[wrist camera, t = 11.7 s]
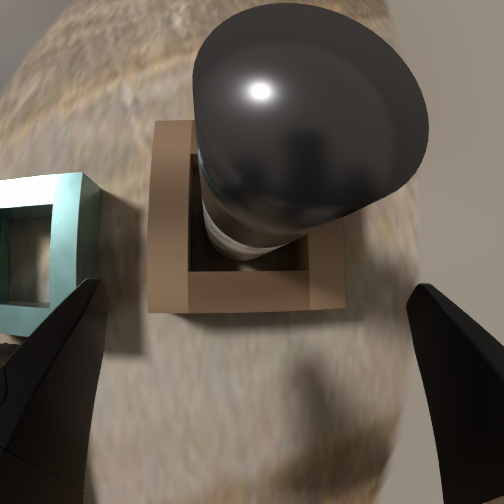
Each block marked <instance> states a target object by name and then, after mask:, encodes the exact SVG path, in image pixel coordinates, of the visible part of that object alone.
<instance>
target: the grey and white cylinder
mask: <svg viewBox="0 0 504 504" xmlns="http://www.w3.org/2000/svg"><path fill="white" fill-rule="evenodd" d="M193 100H194V114H195V127H196V139H197V151H198V162H199V173H200V183H201V193H202V203H203V212H204V221H205V229H206V234H207V237H208V239H209V241H210V243H211V244H212V246H213V247H214V248H215V249H216V250H217V251H218V252H219V253H220V254H222V255H223V256H225V257H227V258H229V259H233V260H237V261H248V260H253V259H256V258H258V257H260V256H262V255H264V254H267V253H269V252H271V251H273V250H275V249H277V248H279V247H281V246H283V245H286V244H288V243H290V242H292V241H294V240H296V239H298V238H300V237H302V236H305V235H307V234H309V233H311V232H313V231H315V230H317V229H319V228H321V227H323V226H325V225H328V224H330V223H332V222H334V221H336V220H338V219H340V218H342V217H344V216H346V215H348V214H351V213H353V212H355V211H357V210H359V209H361V208H363V207H365V206H367V205H369V204H371V203H373V202H376V201H378V200H380V199H382V198H384V197H386V196H388V195H389V194H391V193H393V192H395V191H397V190H398V189H399V188H401V187H402V186H403V185H404V184H406V183H407V182H408V181H409V179H410V178H411V177H412V176H413V175H414V174H415V172H416V171H417V169H418V167H419V166H420V164H421V162H422V159H423V157H424V155H425V152H426V148H427V143H428V134H429V123H428V114H427V109H426V104H425V101H424V98H423V95H422V92H421V90H420V88H419V85H418V83H417V81H416V79H415V77H414V76H413V74H412V72H411V71H410V69H409V68H408V66H407V65H406V64H405V62H404V61H403V60H402V58H401V57H400V56H399V55H398V54H397V53H396V52H395V50H394V49H393V48H392V47H391V46H390V45H388V44H387V43H386V42H385V41H384V40H383V39H382V38H381V37H379V36H378V35H377V34H375V33H374V32H373V31H371V30H370V29H368V28H367V27H365V26H364V25H362V24H360V23H359V22H357V21H355V20H353V19H351V18H349V17H347V16H344V15H342V14H339V13H337V12H334V11H331V10H328V9H325V8H321V7H317V6H312V5H306V4H297V3H277V4H267V5H262V6H257V7H254V8H251V9H247V10H244V11H242V12H240V13H238V14H236V15H233V16H232V17H230V18H229V19H227V20H225V21H224V22H222V23H221V24H220V25H219V26H218V27H217V28H215V29H214V30H213V31H212V32H211V34H210V35H209V36H208V37H207V38H206V40H205V41H204V43H203V45H202V46H201V48H200V50H199V52H198V55H197V57H196V60H195V64H194V69H193Z"/></svg>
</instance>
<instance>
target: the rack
mask: <svg viewBox="0 0 504 504" xmlns="http://www.w3.org/2000/svg"><path fill="white" fill-rule="evenodd" d="M193 174H200V173H199V162H198V151H197V139H196V127H195V120H173V121H155V131H154V140H153V151H152V163H151V176H150V191H149V211H148V242H147V298H148V313H247V312H279V311H302V310H321V309H337V308H346V271H345V242H344V222H343V217H342V218H340V219H338V220H336V221H334V222H332V223H330V224H328V225H325V226H323V227H321V228H319V229H317V230H315V231H313V232H311V233H309V234H307V235H305V236H302V237H300V238H298V239H296V240H294V241H292V259H293V271H223V272H192V197H193Z"/></svg>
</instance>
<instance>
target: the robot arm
mask: <svg viewBox="0 0 504 504" xmlns="http://www.w3.org/2000/svg"><path fill="white" fill-rule="evenodd" d="M108 308H109V302H108V297H107V294H106V291H105V287H104V284H103V281H102V280H101V279H99V278H87V279H85V280H84V281H83V282H82V283H81V284H80V285H79V286H78V287H77V288H76V289H75V290H74V291H73V292H72V293H71V294H70V295H68V296H67V297H66V298H65V299H64V300H63V301H62V302H61V303H60V304H59V305H58V306H57V307H56V308H55V309H54V310H53V311H52V312H51V313H50V314H49V316H48V317H47V318H46V319H45V320H44V321H43V322H42V323H41V324H40V325H39V326H38V327H37V328H36V329H35V330H34V331H33V332H32V333H31V334H30V335H29V336H28V338H27V339H26V340H25V341H24V342H23V343H22V344H21V345H20V346H19V347H18V348H17V350H16V351H15V352H14V353H13V354H12V355H11V356H10V357H9V358H8V360H7V361H6V362H5V365H2V366H1V367H0V504H83V497H84V491H83V490H84V480H85V469H86V459H87V450H88V442H89V434H90V427H91V420H92V414H93V407H94V401H95V396H96V390H97V385H98V379H99V374H100V369H101V364H102V358H103V351H104V341H105V332H106V324H107V316H108ZM406 309H407V314H408V319H409V324H410V329H411V334H412V340H413V345H414V350H415V354H416V358H417V362H418V366H419V369H420V373H421V377H422V381H423V385H424V389H425V394H426V397H427V402H428V407H429V412H430V416H431V421H432V426H433V431H434V437H435V442H436V448H437V454H438V460H439V468H440V475H441V483H442V492H443V501H444V504H483V503H486V504H504V346H503V345H502V344H500V343H499V342H498V341H497V340H496V339H495V338H494V337H493V336H492V335H491V334H490V333H488V332H487V331H486V330H485V329H484V328H483V327H482V326H480V325H479V324H478V323H477V322H476V321H475V320H473V319H472V318H471V317H470V316H469V315H468V314H466V313H465V312H464V311H463V310H462V309H460V308H459V307H458V306H457V305H456V304H454V303H453V302H452V301H451V300H450V299H448V298H447V297H446V296H445V295H443V294H442V293H441V292H440V291H438V290H437V289H436V288H435V287H434V286H432V285H431V284H428V283H421V284H418V285H417V286H416V287H415V289H414V291H413V292H412V294H411V296H410V298H409V299H408V301H407V305H406Z"/></svg>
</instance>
